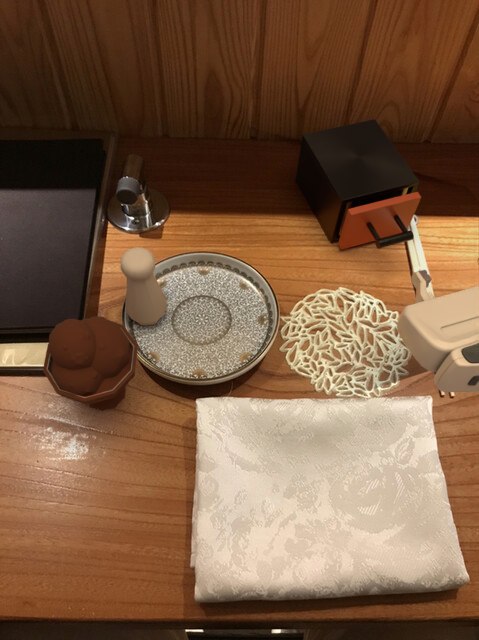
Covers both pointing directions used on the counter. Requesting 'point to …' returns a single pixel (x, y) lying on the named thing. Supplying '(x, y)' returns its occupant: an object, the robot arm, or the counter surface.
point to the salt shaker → (142, 287)
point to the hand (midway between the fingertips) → (451, 264)
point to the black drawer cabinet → (349, 170)
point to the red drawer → (378, 219)
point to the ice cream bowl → (91, 361)
